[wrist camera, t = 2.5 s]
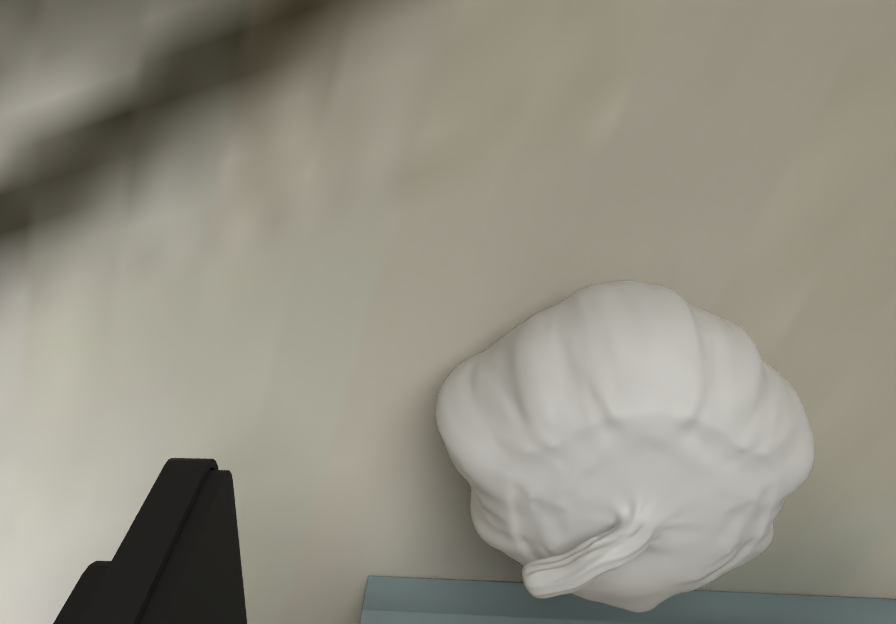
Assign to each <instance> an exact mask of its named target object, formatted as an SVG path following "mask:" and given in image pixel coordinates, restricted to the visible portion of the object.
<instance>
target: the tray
mask: <svg viewBox="0 0 896 624" xmlns="http://www.w3.org/2000/svg"><path fill="white" fill-rule="evenodd" d="M360 624H896V599H875V598H852V597H830V596H807V595H785V594H762V593H740V592H717V591H694V590H692V591H689V592H684V593H679V594H675V595H673V596H671V597H669V598H667V599H666V600H664V601H663V602H661V603H660V604H658V605H657V606H656V607H654V608H653V609H651V610H649V611H646V612H632V611H629V610H626V609H622V608H618V607H614V606H611V605H608V604H605V603H601V602H597V601H590V600H587V599H584V598H582V597H579V596H577V595H574V594H572V593H569V594H563V595H558V596H553V597H550V598H536V597H534V596H532V595H531V594H530V593H529V591H528V590H527V588H526V587H525V585H524V583H514V582H491V581H469V580H446V579H424V578H401V577H378V576H368V581H367V586H366V592H365V597H364V603H363V608H362V614H361V620H360Z"/></svg>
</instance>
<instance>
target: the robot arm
mask: <svg viewBox="0 0 896 624" xmlns="http://www.w3.org/2000/svg"><path fill="white" fill-rule="evenodd" d="M53 624H247V617H246V608H245V598H244V588H243V578H242V568H241V558H240V548H239V538H238V528H237V518H236V508H235V498H234V488H233V479H232V475H231V472H230V471H229V470H218V465H217V463H216V461H215V460H214V459H193V458H171V459H169V460H168V461H167V462H166V464H165V465H164V467H163V469H162V471H161V473H160V474H159V476H158V478H157V480H156V482H155V483H154V485H153V487H152V489H151V491H150V492H149V494H148V496H147V498H146V500H145V502H144V503H143V505H142V507H141V509H140V511H139V512H138V514H137V516H136V518H135V520H134V521H133V523H132V525H131V527H130V529H129V530H128V532H127V534H126V536H125V538H124V540H123V541H122V543H121V545H120V547H119V549H118V550H117V552H116V554H115V556H114V558H113V559H112V561H95V562H94V563H92V564H90V565H89V566H88V567H87V569H86V570H85V571H84V573H83V574H82V576H81V577H80V579H79V581H78V582H77V584H76V586H75V588H74V589H73V591H72V593H71V594H70V596H69V598H68V599H67V601H66V603H65V605H64V606H63V608H62V610H61V611H60V613H59V615H58V616H57V618H56V620H55V622H54V623H53Z"/></svg>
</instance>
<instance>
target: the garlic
mask: <svg viewBox="0 0 896 624" xmlns="http://www.w3.org/2000/svg"><path fill="white" fill-rule="evenodd" d="M436 422H437V427H438V430H439V433H440V435H441V438H442V440H443V442H444V444H445V446H446V449H447V452H448V454H449V456H450V458H451V460H452V462H453V464H454V466H455V467H456V469H457V470H458V472H459V473H460V474H461V475H462V476H463V477H464V478H465V479H466V480H467V481H468V483H469V485H470V486H471V501H470V509H471V517H472V521H473V524H474V527H475V529H476V531H477V533H478V534H479V536H480V537H481V538H482V539H483V540H484V541H485V542H486V543H487V544H488V545H490V546H492V547H493V548H495V549H498V550H500V551H502V552H503V553H505V554H506V555H508V556H509V557H511V558H513V559H514V560H516V561H517V562H519V563H520V564H522V565H523V566H524V567H523V569H522V578H523V583H524V585H525V587H526V588H527V590H528V591H529V593H530V594H531V595H532V596H534V597H536V598H550V597H553V596H558V595H563V594H569V593H572V594H574V595H577V596H579V597H582V598H584V599H587V600H590V601H597V602H601V603H605V604H608V605H611V606H614V607H618V608H622V609H626V610H629V611H632V612H646V611H649V610H651V609H653V608H654V607H656V606H657V605H658V604H660V603H661V602H663V601H664V600H666V599H667V598H669V597H671V596H673V595H675V594H679V593H684V592H689V591H692V590H695V589H697V588H699V587H702V586H704V585H706V584H708V583H710V582H712V581H713V580H715V579H717V578H718V577H720V576H722V575H724V574H726V573H728V572H730V571H732V570H734V569H736V568H738V567H739V566H741V565H743V564H744V563H746V562H748V561H749V560H751V559H753V558H755V557H756V556H758V555H760V554H761V553H762V552H764V551H765V550H766V549H767V547H768V546H769V545H770V543H771V541H772V539H773V535H774V529H773V522H774V518H775V517H776V515H777V514H778V512H779V511H780V509H781V508H782V506H783V503H784V501H785V499H786V498H787V497H788V496H789V495H790V494H791V493H793V492H794V491H795V490H796V489H797V488H798V487H799V486H801V485H802V483H803V482H804V481H805V480H806V479H807V477H808V475H809V474H810V472H811V469H812V466H813V463H814V455H815V449H814V441H813V436H812V431H811V428H810V424H809V421H808V418H807V415H806V413H805V410H804V408H803V405H802V403H801V401H800V399H799V397H798V395H797V393H796V391H795V390H794V389H793V387H792V386H791V385H790V384H789V383H788V382H787V381H786V380H785V379H784V378H783V377H782V376H781V375H780V374H779V373H778V372H777V371H775V370H774V369H773V368H772V367H770V366H769V365H768V364H767V363H766V362H765V361H764V360H763V359H761V357H760V354H759V351H758V349H757V347H756V345H755V343H754V342H753V340H752V339H751V337H750V336H749V335H748V334H747V333H746V332H745V331H744V330H743V329H742V328H740V327H739V326H738V325H736V324H734V323H733V322H731V321H729V320H726V319H724V318H721V317H718V316H715V315H713V314H711V313H709V312H707V311H705V310H702V309H700V308H696V307H693V306H691V305H689V304H688V303H687V302H686V301H685V300H684V298H683V297H682V296H681V295H680V294H678V293H677V292H675V291H674V290H672V289H670V288H667V287H665V286H661V285H657V284H648V283H641V282H636V281H629V280H622V281H614V282H609V283H601V284H595V285H591V286H587V287H585V288H582V289H580V290H578V291H576V292H575V293H573V294H572V295H570V296H569V297H568V298H566V299H565V300H563V301H562V302H560V303H558V304H556V305H554V306H551V307H549V308H547V309H545V310H543V311H541V312H539V313H537V314H535V315H533V316H531V317H530V318H529V319H527V320H526V321H525V322H523V323H521V324H519V325H518V326H516V327H515V328H514V329H512V330H511V331H510V332H509V333H508V334H506V335H504V336H503V337H501V338H500V339H499V340H498V341H497V342H495V343H494V344H493V345H492V346H491V347H490V348H489V349H487V350H485V351H483V352H481V353H478V354H476V355H474V356H472V357H470V358H468V359H467V360H465V361H463V362H462V363H460V364H459V365H458V366H457V367H456V368H454V369H453V370H452V372H451V373H450V374H449V375H448V377H447V378H446V379H445V381H444V383H443V385H442V387H441V389H440V392H439V394H438V398H437V403H436Z"/></svg>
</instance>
